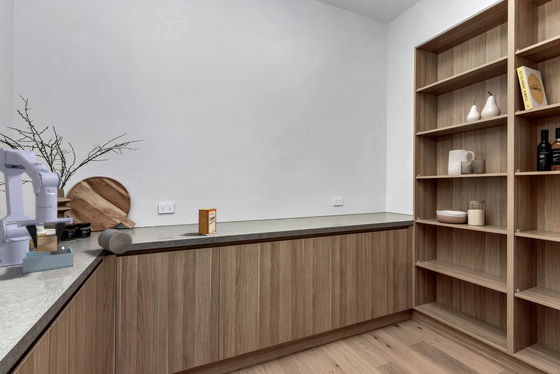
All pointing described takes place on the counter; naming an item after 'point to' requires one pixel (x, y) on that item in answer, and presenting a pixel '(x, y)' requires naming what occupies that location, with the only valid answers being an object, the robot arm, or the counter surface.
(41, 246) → the oak block
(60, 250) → the grey cylinder
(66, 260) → the tote
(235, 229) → the counter surface
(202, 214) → the baking soda box
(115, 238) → the pillar candle
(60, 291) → the counter surface
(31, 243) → the supplement bottle
